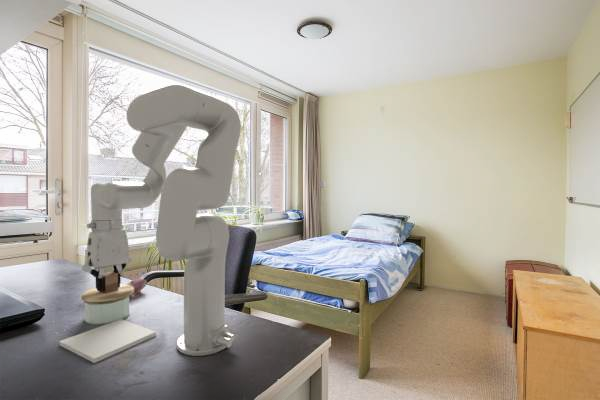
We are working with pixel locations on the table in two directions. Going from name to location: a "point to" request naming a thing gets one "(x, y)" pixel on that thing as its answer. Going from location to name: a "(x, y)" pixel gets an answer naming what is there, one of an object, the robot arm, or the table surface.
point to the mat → (107, 340)
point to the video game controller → (137, 285)
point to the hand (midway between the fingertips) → (108, 288)
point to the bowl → (106, 311)
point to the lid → (108, 290)
